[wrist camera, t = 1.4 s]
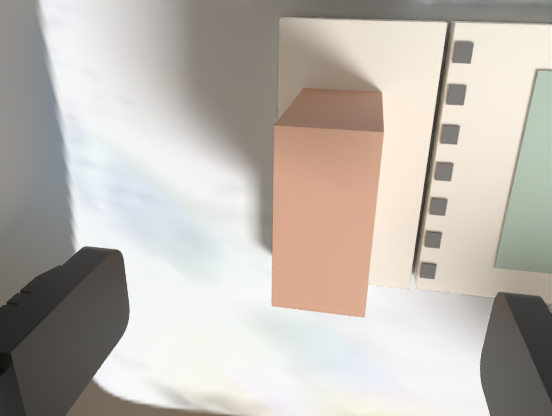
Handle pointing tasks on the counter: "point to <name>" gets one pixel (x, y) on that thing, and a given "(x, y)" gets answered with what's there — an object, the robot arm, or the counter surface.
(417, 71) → the salmon block with base
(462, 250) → the board
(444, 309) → the counter surface
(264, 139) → the counter surface
